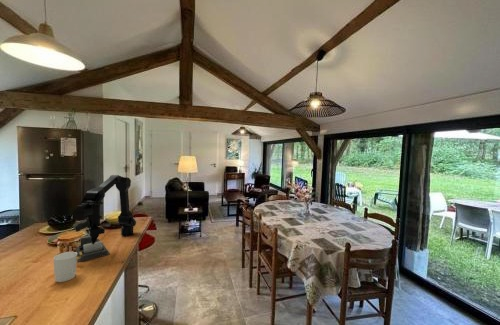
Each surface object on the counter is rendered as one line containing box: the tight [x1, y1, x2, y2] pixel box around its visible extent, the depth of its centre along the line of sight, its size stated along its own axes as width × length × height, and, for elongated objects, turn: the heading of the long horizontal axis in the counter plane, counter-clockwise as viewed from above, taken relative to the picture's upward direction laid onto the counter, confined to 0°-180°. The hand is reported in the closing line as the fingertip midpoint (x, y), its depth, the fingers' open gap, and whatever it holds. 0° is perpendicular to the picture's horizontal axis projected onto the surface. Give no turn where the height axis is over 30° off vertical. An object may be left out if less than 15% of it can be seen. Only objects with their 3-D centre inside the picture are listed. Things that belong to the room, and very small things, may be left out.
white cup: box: [53, 251, 78, 283], centre depth 96 cm, size 8×8×10 cm
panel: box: [83, 240, 104, 255], centre depth 117 cm, size 8×2×6 cm, turn 136°
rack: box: [76, 235, 111, 263], centre depth 122 cm, size 14×21×6 cm, turn 46°
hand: (93, 243), depth 117 cm, fingers closed
